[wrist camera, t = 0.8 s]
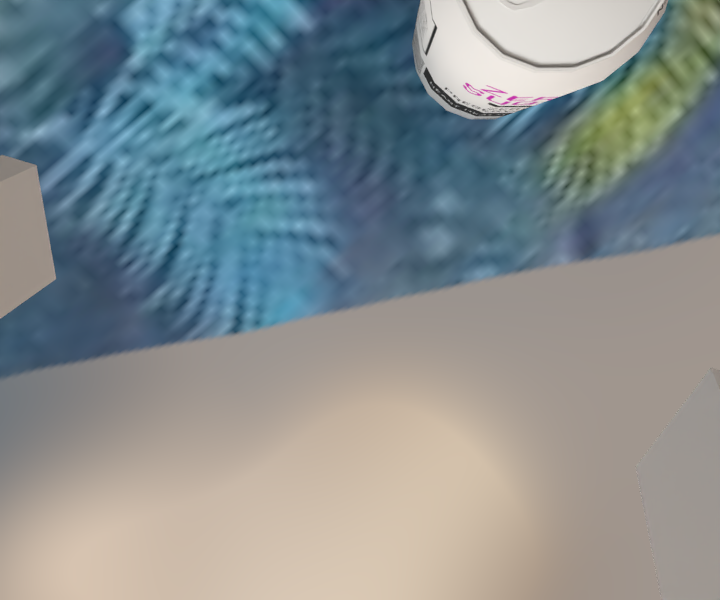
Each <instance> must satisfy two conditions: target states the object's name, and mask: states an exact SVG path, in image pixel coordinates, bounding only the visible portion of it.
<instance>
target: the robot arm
mask: <svg viewBox="0 0 720 600" xmlns="http://www.w3.org/2000/svg"><path fill="white" fill-rule="evenodd" d="M55 279H56V275H55V270H54V264H53V258H52V252H51V247H50V241H49V235H48V229H47V224H46V218H45V212H44V206H43V201H42V195H41V189H40V183H39V178H38V172H37V166H36V165H34V164H30V163H27V162H24V161H20V160H17V159H14V158H10V157H7V156H4V155H1V156H0V318H2V317H3V316H5V315H6V314H7V313H9V312H10V311H12V310H13V309H14V308H16V307H17V306H19V305H20V304H22V303H23V302H24V301H26V300H27V299H29V298H30V297H31V296H33V295H34V294H36V293H37V292H38V291H40V290H41V289H43V288H44V287H45V286H47V285H48V284H50V283H51V282H52V281H54V280H55ZM636 471H637V476H638V481H639V486H640V492H641V497H642V502H643V507H644V512H645V517H646V523H647V528H648V533H649V538H650V543H651V548H652V554H653V559H654V563H655V569H656V574H657V579H658V585H659V589H660V595H661V600H720V370H717V369H714V368H710V369H709V371H708V372H707V373H706V375H705V376H704V377H703V378H702V380H701V381H700V382H699V384H698V385H697V386H696V388H695V389H694V390H693V392H692V393H691V394H690V396H689V397H688V398H687V400H686V401H685V402H684V404H683V405H682V406H681V408H680V409H679V410H678V411H677V413H676V414H675V415H674V417H673V418H672V419H671V421H670V422H669V423H668V425H667V426H666V427H665V429H664V430H663V431H662V433H661V434H660V435H659V437H658V438H657V439H656V441H655V442H654V443H653V444H652V446H651V447H650V449H649V450H648V451H647V452H646V454H645V455H644V456H643V458H642V459H641V460H640V462H639V463H638V464H637V465H636Z"/></svg>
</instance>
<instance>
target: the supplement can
mask: <svg viewBox="0 0 720 600" xmlns="http://www.w3.org/2000/svg"><path fill="white" fill-rule="evenodd" d="M667 2H668V0H420V5H419V10H418V15H417V20H416V25H415V31H414V36H413V42H412V46H413V53H414V60H415V67H416V71H417V73H418V75H419V77H420V79H421V81H422V83H423V85H424V87H425V89H426V91H427V93H428V94H429V95H430V96H431V97H432V98H433V99H435V100H436V101H437V102H438V103H439V104H440V105H441V106H442V107H443V108H445V109H446V110H447V111H450V112H452V113H455V114H457V115H460V116H463V117H465V118H468V119H496V118H499V117H502V116H505V115H508V114H511V113H514V112H517V111H520V110H522V109H525V108H528V107H531V106H534V105H537V104H540V103H543V102H546V101H548V100H551V99H554V98H557V97H560V96H563V95H566V94H568V93H571V92H574V91H576V90H579V89H582V88H584V87H587V86H590V85H592V84H595V83H598V82H600V81H603V80H604V79H605V78H607V77H608V76H609V75H610V74H611V73H613V72H614V71H615V70H616V69H618V68H619V67H620V66H621V65H623V64H624V63H625V62H626V61H627V60H629V59H630V58H631V57H632V56H634V55H635V54H636V53H637V52H638V51H639V50H640V48H641V47H642V45H643V44H644V42H645V41H646V39H647V38H648V36H649V35H650V33H651V32H652V30H653V29H654V27H655V26H656V24H657V23H658V21H659V20H660V18H661V17H662V15H663V13H664V12H665V9H666V5H667Z"/></svg>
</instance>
